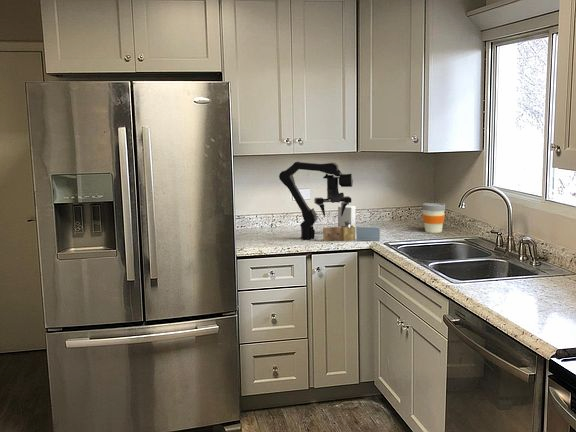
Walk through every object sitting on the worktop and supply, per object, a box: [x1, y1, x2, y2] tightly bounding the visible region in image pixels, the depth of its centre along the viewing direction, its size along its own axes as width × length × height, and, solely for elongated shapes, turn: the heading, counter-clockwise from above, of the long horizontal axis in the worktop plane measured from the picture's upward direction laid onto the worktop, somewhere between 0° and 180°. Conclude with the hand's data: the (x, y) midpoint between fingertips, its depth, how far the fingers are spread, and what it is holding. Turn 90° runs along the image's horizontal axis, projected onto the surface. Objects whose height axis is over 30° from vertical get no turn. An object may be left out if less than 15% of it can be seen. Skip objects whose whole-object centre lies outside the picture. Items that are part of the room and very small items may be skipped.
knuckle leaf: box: [322, 225, 356, 242], centre depth 322 cm, size 16×6×7 cm, turn 98°
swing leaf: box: [355, 226, 381, 241], centre depth 320 cm, size 12×1×7 cm, turn 73°
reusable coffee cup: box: [421, 202, 446, 234], centre depth 341 cm, size 13×12×15 cm
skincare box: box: [337, 205, 357, 228], centre depth 339 cm, size 8×7×16 cm
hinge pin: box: [344, 221, 351, 227], centre depth 323 cm, size 4×4×10 cm
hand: (333, 216), depth 325 cm, fingers open, 9 cm apart
